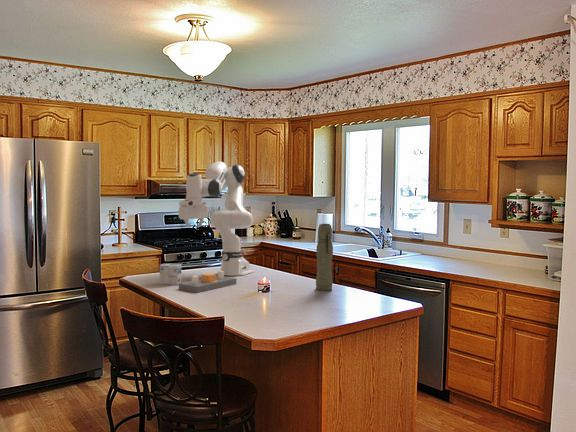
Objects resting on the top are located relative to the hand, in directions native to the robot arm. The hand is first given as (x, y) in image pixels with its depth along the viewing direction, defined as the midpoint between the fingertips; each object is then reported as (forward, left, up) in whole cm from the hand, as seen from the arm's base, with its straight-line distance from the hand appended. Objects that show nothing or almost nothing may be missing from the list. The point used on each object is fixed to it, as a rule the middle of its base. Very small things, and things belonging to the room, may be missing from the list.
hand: (194, 226), depth 295 cm
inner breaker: (-5, +16, -28) cm, 33 cm away
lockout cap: (+5, +16, -28) cm, 33 cm away
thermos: (-28, +69, -31) cm, 81 cm away
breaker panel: (+5, +16, -31) cm, 35 cm away
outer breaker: (+15, +16, -28) cm, 36 cm away
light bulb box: (+12, -6, -31) cm, 34 cm away
